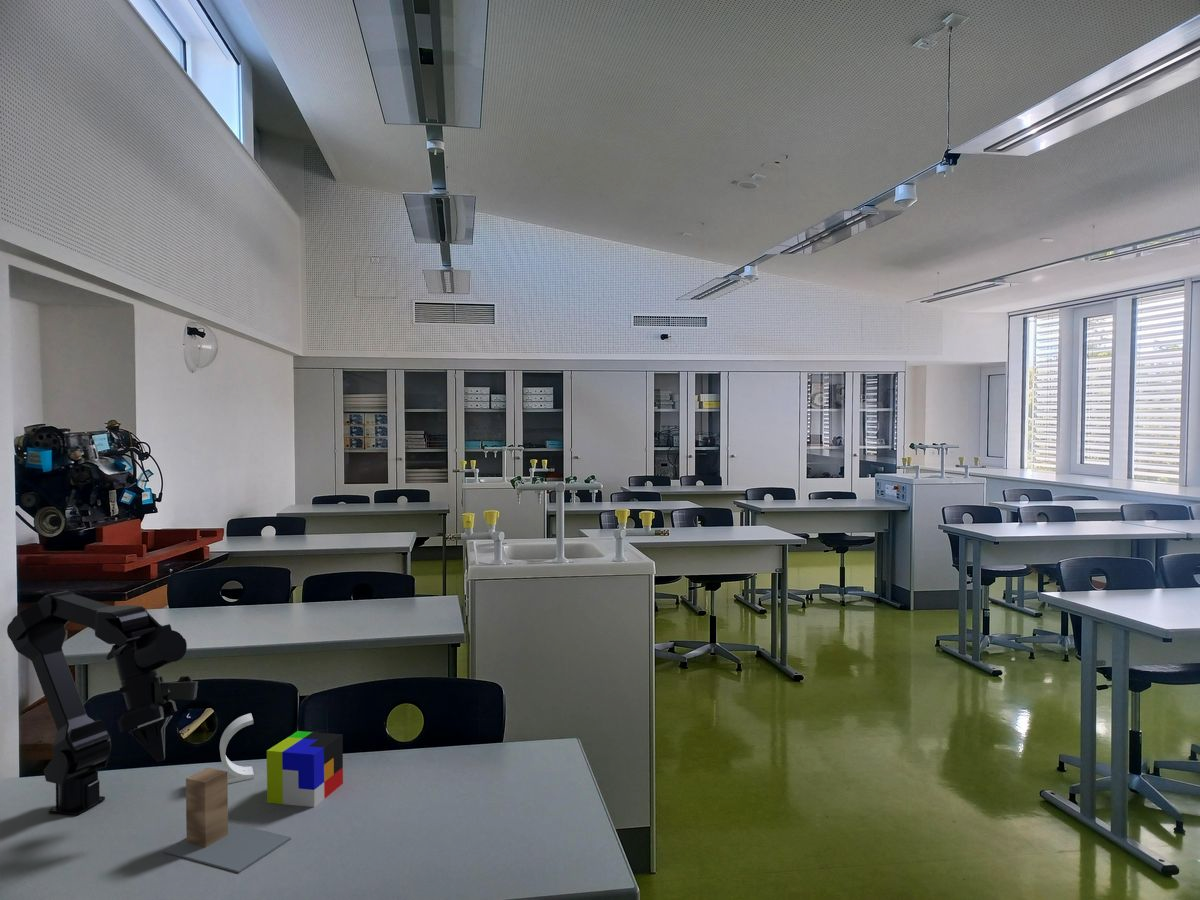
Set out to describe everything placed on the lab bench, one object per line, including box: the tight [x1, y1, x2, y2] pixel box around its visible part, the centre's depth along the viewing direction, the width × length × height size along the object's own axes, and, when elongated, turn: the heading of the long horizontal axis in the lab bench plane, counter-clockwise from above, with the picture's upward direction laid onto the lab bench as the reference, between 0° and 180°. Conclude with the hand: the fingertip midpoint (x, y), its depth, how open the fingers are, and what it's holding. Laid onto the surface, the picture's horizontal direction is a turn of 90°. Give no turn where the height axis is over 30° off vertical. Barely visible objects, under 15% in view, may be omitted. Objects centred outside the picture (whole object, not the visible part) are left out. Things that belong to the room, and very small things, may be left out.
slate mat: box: [163, 821, 292, 874], centre depth 127 cm, size 17×11×1 cm, turn 68°
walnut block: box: [185, 767, 229, 847], centre depth 129 cm, size 4×4×11 cm
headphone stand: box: [219, 712, 255, 785], centre depth 153 cm, size 5×6×12 cm
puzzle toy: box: [266, 730, 344, 808], centre depth 146 cm, size 10×10×10 cm
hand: (161, 761), depth 133 cm, fingers closed
